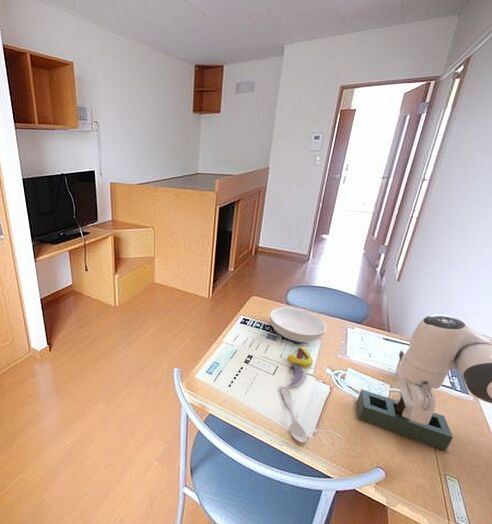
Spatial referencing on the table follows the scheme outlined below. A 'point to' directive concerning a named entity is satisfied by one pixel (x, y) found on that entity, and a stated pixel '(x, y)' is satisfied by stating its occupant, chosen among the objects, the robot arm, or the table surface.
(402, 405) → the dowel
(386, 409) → the peg block
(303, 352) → the knife
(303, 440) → the spoon
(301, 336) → the serving bowl
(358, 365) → the table surface
